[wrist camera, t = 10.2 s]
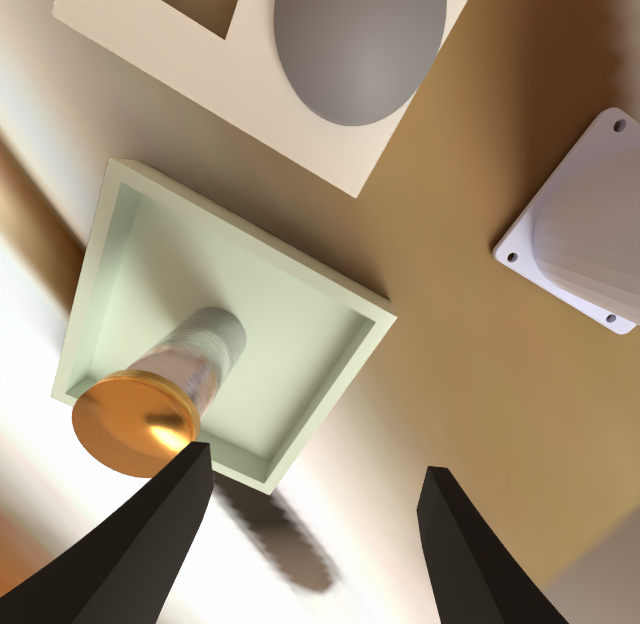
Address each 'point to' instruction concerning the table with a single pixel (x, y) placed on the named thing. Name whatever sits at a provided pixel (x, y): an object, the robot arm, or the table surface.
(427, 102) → the table surface
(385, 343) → the table surface
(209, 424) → the tray
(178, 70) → the plate
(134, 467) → the jar
